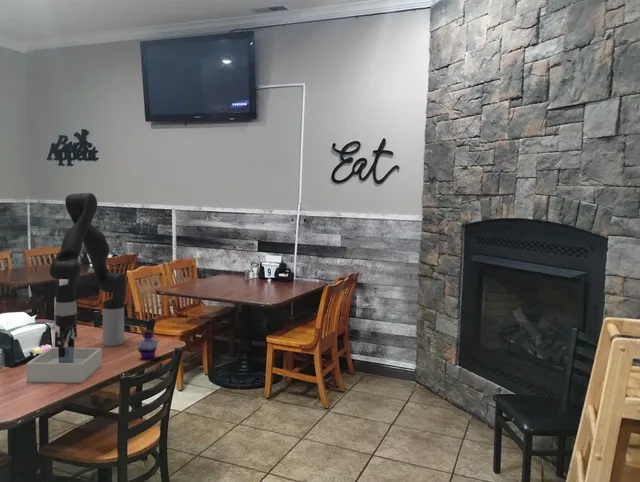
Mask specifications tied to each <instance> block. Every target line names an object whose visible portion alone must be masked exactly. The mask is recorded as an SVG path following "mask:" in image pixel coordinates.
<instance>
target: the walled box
mask: <svg viewBox="0 0 640 482" xmlns="http://www.w3.org/2000/svg"><path fill="white" fill-rule="evenodd" d="M102 349H103V348H101V347H74V363H59V356H58V348H57V347H55V346H54V347H50V348H48V349H46V350H45V351H43V352H42V353H40V354H39V355H37V356H35V357H33V359H31V360H29V361H28V362H27V363H26V364H25V368H26V383H72V384H73V383H74V384H75V383H76V384H82V383H84V382H85V381H86V380H87V379H88V378H89V377H91V375H93V374H94V373H95V372H96V371H97V370H98V369H99V368H100V367H102V365H103V364H102V361H103V358H102V354H103V353H102Z"/></svg>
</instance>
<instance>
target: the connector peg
mask: <svg viewBox="0 0 640 482" xmlns="http://www.w3.org/2000/svg"><path fill="white" fill-rule="evenodd" d="M74 348H75V345H74V346H68V345H65V357H59V363H74Z"/></svg>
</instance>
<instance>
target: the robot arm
mask: <svg viewBox="0 0 640 482" xmlns="http://www.w3.org/2000/svg"><path fill="white" fill-rule="evenodd" d="M64 203H65V208H66V211H67V213H68V215H69V217H70V218H71V220H72V222H73V224H74V225H73V226H72V227H71V228H69V230H68V231H66V233H65V235H64V237H63V240H62V244H61V247H60V250H59V252H58V253H57V254H56V256H55V257H54V259H53V260H52V262H51V264H50V267H49V275H50V277H51V278H52V279H54V280H59V279H68V284H66V285H60V286H59V285H57V287H56V288H55V297H56V304H55V310H54V326H55V325H56V326H59V327H60V329H59V332H55V331H54V335H55V337H54V347H57V348H58V356H59V357H65V346H74V347H75V340H76V339H77V338H78V329H77V328H78V327H77V324H78V313H77V312H78V308H77V307H78V305H77V297H76V296H77V294H76V293H77V287H78V281H79V279H80V275H81V271H82V268H81V265H80V264H79V262H78V261H76V260H77V259H78V258H79V257H80V254H81V251H82V248H83V247H84V248H85V251H86V254H87V256H88V258H89V260H90V263H91V266H92V268H93V270H94V274H95V278H96V281H97V284H98V287H99V289H100V290H101V291H102V292H104V293H111V294H112V297H111V298H109V299H106V300H104V301H102V345H103V346H107V347H117V346H121V345H124V343H125V303H126V298H127V297H126V296H127V295H126V293H127V278H126V276H125V274H123V273H121V272H110V271H109V269H108V266H107V260H108V257H109V254H110V247H109V243H108V240H107V238H106V235H105V234H104V233H102V232H101V231H100V230H99V229H98V228H97V227H95V225H93V224H92V221H93V219H94V217H95V215H96V212H97V209H98V200H97V197H96V195H94V193H91V192H84V193H83V192H81V193H71V194H68V195H67V196H66V197H65V202H64ZM74 260H75V261H74ZM68 340H69V341H68ZM66 344H67V345H66Z"/></svg>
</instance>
